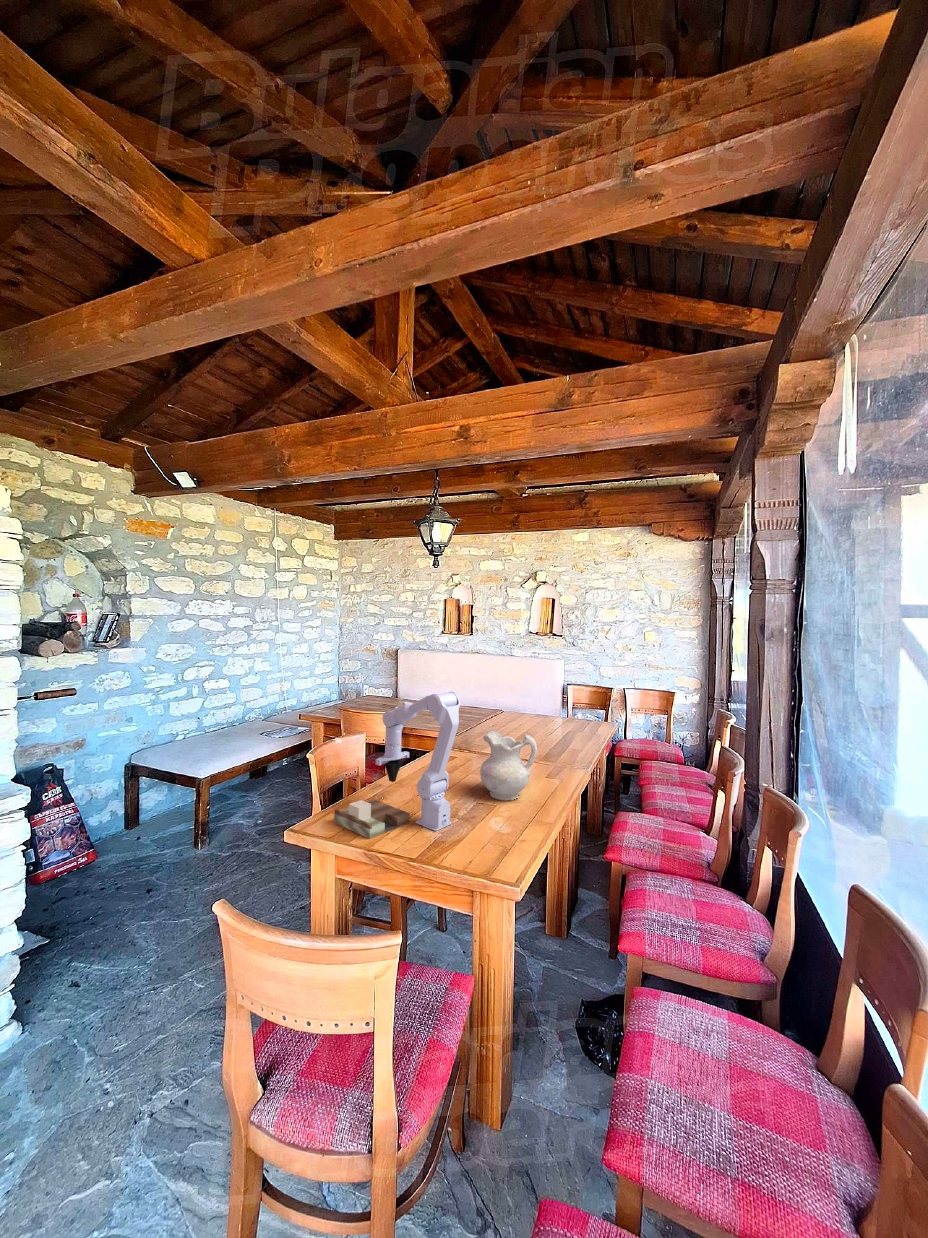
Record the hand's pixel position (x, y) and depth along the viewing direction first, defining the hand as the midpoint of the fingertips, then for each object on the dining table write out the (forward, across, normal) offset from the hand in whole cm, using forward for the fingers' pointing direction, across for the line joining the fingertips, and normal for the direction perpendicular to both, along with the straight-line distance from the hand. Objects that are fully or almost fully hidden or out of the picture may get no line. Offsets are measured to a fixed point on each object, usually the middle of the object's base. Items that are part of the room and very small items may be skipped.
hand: (392, 781), depth 175 cm
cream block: (+6, +18, +5) cm, 20 cm away
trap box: (+9, +13, +5) cm, 17 cm away
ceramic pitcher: (+10, -39, +24) cm, 47 cm away
